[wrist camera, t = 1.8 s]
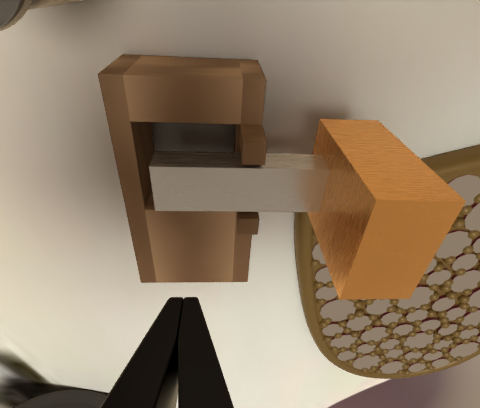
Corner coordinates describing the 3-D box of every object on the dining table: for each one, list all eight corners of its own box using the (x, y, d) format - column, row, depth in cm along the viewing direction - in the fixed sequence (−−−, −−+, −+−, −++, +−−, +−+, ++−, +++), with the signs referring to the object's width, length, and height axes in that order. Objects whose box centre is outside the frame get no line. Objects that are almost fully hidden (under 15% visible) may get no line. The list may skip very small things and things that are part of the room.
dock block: (257, 59, 17) (272, 94, 12) (243, 241, 24) (249, 307, 19) (122, 54, 16) (80, 87, 11) (151, 240, 24) (134, 308, 19)
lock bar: (378, 120, 16) (466, 201, 10) (352, 201, 19) (409, 298, 13) (156, 113, 15) (117, 197, 9) (165, 199, 18) (140, 301, 12)
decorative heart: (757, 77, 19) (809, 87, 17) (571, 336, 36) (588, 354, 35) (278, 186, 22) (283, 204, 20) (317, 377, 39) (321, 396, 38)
